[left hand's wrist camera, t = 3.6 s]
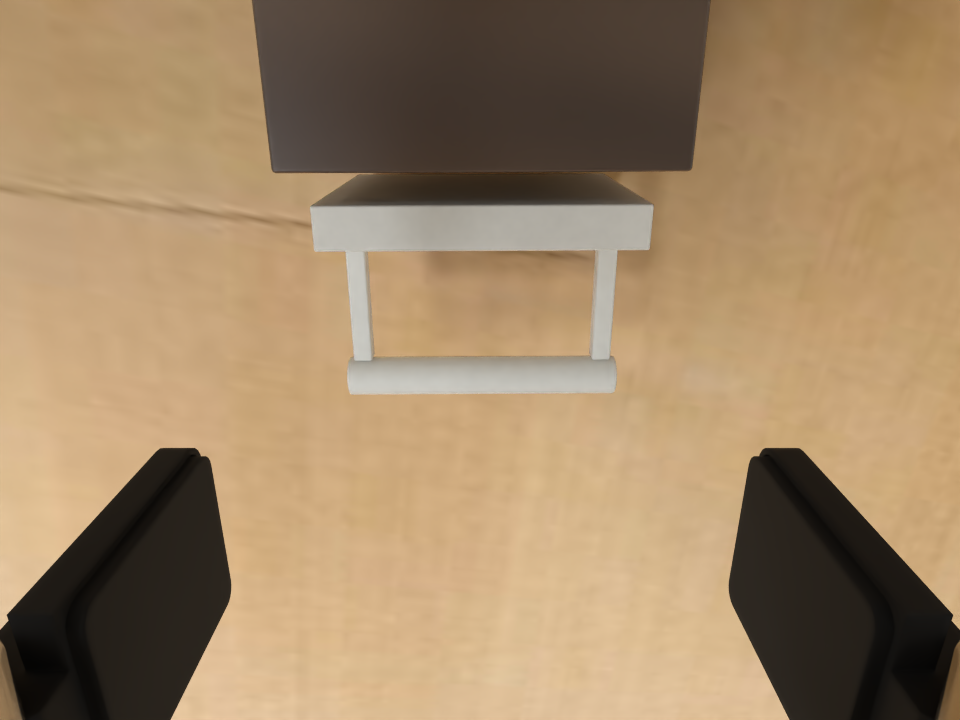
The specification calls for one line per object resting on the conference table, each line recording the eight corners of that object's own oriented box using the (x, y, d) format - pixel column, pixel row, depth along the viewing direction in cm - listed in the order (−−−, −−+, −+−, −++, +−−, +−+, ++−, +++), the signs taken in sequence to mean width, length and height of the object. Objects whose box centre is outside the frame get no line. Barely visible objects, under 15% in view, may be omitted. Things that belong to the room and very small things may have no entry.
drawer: (593, 346, 26) (633, 433, 19) (369, 347, 26) (331, 435, 19) (627, -196, 20) (704, -347, 13) (331, -195, 20) (255, -346, 13)
